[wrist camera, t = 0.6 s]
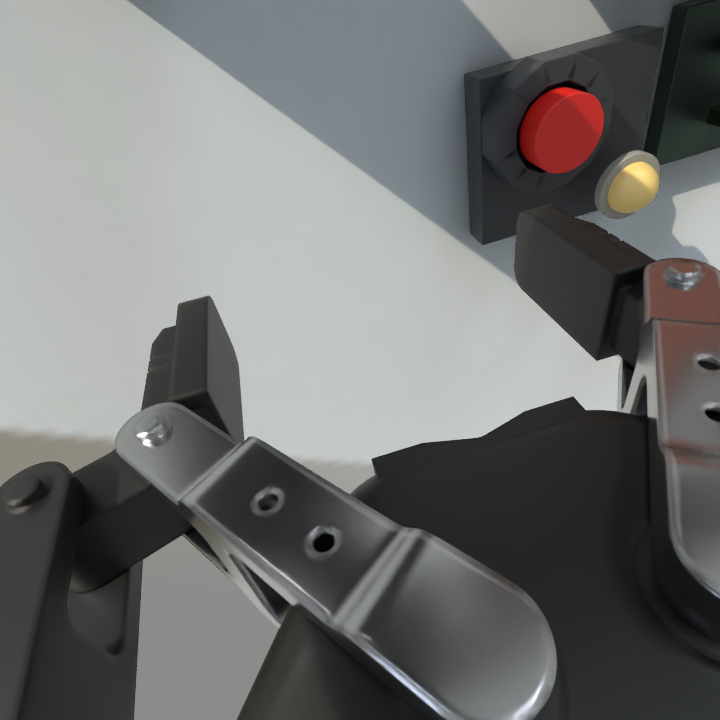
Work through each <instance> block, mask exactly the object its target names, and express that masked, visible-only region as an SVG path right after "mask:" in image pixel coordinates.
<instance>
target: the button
mask: <svg viewBox="0 0 720 720" xmlns="http://www.w3.org/2000/svg"><path fill="white" fill-rule="evenodd" d="M603 126H604V113H603V108H602V106H601V104H600V102H599V101H598V99H597V98H596V97H595V96H593V95H591V94H589V93H586V92H583V91H579V90H575V89H572V88H568V87H558V88H554V89H551V90H549V91H547V92H545V93H544V94H542V95H541V96H540V97H539V98H538V99H536V101H535V102H534V103H533V104H532V105H531V106H530V108H529V109H528V111H527V112H526V114H525V116H524V118H523V121H522V124H521V127H520V132H519V145H520V149H521V152H522V154H523V156H524V157H525V158H526V159H527V160H528V161H529V162H530V163H532V164H534V165H536V166H538V167H539V168H541V169H543V170H545V171H547V172H549V173H554V174H559V173H565V172H568V171H571V170H573V169H575V168H576V167H578V166H579V165H580V164H582V163H583V162H584V161H585V160H586V159H587V158H588V157H589V156H590V155H591V153H592V152H593V151H594V149H595V147H596V146H597V144H598V142H599V140H600V137H601V134H602V131H603Z"/></svg>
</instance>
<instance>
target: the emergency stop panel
mask: <svg viewBox="0 0 720 720" xmlns="http://www.w3.org/2000/svg"><path fill="white" fill-rule="evenodd" d="M663 31H664V28H661V27H650V26H636V27H632V28H629V29H625V30H622V31H618V32H614V33H611V34H607V35H604V36H600V37H596V38H593V39H589V40H586V41H582V42H578V43H575V44H571V45H568V46H564V47H560V48H557V49H553V50H549V51H546V52H542V53H539V54H535V55H531V56H528V57H524V58H521V59H517V60H514V61H510V62H506V63H503V64H499V65H496V66H492V67H488V68H485V69H481V70H477V71H474V72H470V73H467V74H465V75H464V77H465V103H466V129H467V155H468V181H469V207H470V233H471V234H472V235H473V236H474V237H475V238H476V239H477V240H478V241H479V242H480V243H481V244H482V245H485V244H488V243H491V242H495V241H498V240H501V239H505V238H508V237H511V236H514V235H516V229H517V219H518V216H519V215H520V213H521V212H523V211H527V210H531V209H534V208H538V207H542V206H545V205H550V204H551V205H554V206H556V207H557V208H559V209H560V210H562V211H564V212H565V213H567V214H568V215H570V216H572V217H573V218H574V217H577V216H580V215H584V214H587V213H590V212H593V211H597V210H598V209H597V207H596V205H595V198H594V197H595V190H596V186H597V183H598V181H599V179H600V177H601V175H602V174H603V172H604V171H605V170H606V168H607V167H608V166H609V165H610V164H611V163H612V162H613V161H614V160H616V159H617V158H618V157H620V156H621V155H623V154H625V153H628V152H631V151H637V150H639V151H640V150H641V144H642V139H643V134H644V129H645V124H646V119H647V114H648V109H649V103H650V98H651V93H652V88H653V83H654V78H655V73H656V67H657V62H658V57H659V52H660V47H661V42H662V37H663ZM558 87H568V88H572V89H575V90H579V91H583V92H586V93H589V94H591V95H593V96H595V97H596V98H597V99H598V101H599V102H600V104H601V106H602V108H603V113H604V126H603V131H602V134H601V137H600V140H599V142H598V144H597V146H596V147H595V149H594V151H593V152H592V153H591V155H590V156H589V157H588V158H587V159H586V160H585V161H584V162H583V163H582V164H580V165H579V166H578V167H576V168H575V169H573V170H571V171H568V172H565V173H559V174H554V173H549V172H547V171H545V170H543V169H541V168H539V167H538V166H536V165H534V164H532V163H530V162H529V161H528V160H527V159H526V158H525V157H524V156H523V154H522V152H521V149H520V145H519V132H520V127H521V124H522V121H523V118H524V116H525V114H526V112H527V111H528V109H529V108H530V106H531V105H532V104H533V103H534V102H535V101H536V99H538V98H539V97H540V96H541V95H542V94H544V93H545V92H547V91H549V90H551V89H554V88H558Z"/></svg>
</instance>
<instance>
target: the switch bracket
mask: <svg viewBox="0 0 720 720" xmlns="http://www.w3.org/2000/svg"><path fill="white" fill-rule="evenodd" d="M719 147H720V0H694V1H691V2H687V3H683V4H680V5H676V6H674V7H673V11H672V16H671V21H670V26H669V31H668V36H667V41H666V46H665V51H664V56H663V61H662V66H661V71H660V76H659V81H658V85H657V90H656V95H655V100H654V105H653V110H652V115H651V120H650V125H649V130H648V135H647V140H646V145H645V150H644V151H645V152H647V153H650V154H652V155H654V156H655V157H656V158H657V160H658V162H659V164H660V165H662V164H666V163H669V162H672V161H676V160H679V159H682V158H686V157H689V156H692V155H696V154H699V153H702V152H706V151H709V150H712V149H716V148H719Z"/></svg>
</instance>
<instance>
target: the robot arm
mask: <svg viewBox="0 0 720 720" xmlns="http://www.w3.org/2000/svg"><path fill="white" fill-rule="evenodd" d="M514 270H515V276H516V280H517V282H518V284H519V286H520V288H521V289H522V290H523V291H524V292H525V293H526V294H527V295H528V296H529V297H530V298H531V299H533V300H534V301H535V302H536V303H537V304H538V305H539V306H540V307H541V308H542V309H543V310H544V311H545V312H546V313H547V314H548V315H549V316H550V317H551V318H552V319H553V320H555V321H556V322H557V323H558V324H559V325H560V326H561V327H562V328H563V329H564V330H565V331H566V332H567V333H568V334H569V335H570V336H571V337H572V338H573V339H574V340H575V341H576V342H578V343H579V344H580V345H581V346H582V347H583V348H584V349H585V350H586V351H587V352H588V353H589V354H590V355H591V356H592V357H593V358H594V359H595V360H596V361H598V360H601V359H604V358H608V357H611V356H614V355H617V354H619V355H620V356H621V357H622V358H621V362H620V365H619V372H618V402H617V411H607V410H587V411H586V410H585V409H584V408H583V407H582V406H581V405H580V404H579V403H578V401H577V400H576V399H575V398H574V397H570V398H567V399H563V400H560V401H557V402H554V403H550V404H547V405H544V406H541V407H537V408H534V409H531V410H528V411H525V412H523V413H521V414H520V415H518V416H516V417H515V418H513V419H511V420H510V421H508V422H506V423H505V424H503V425H501V426H500V427H498V428H496V429H495V430H493V431H491V432H489V433H488V434H486V435H484V436H482V437H479V438H472V439H461V440H450V441H440V442H429V443H421V444H418V445H415V446H411V447H408V448H405V449H402V450H399V451H395V452H392V453H389V454H386V455H382V456H379V457H376V458H373V459H372V463H373V467H374V471H375V475H374V476H373V477H371V478H370V479H368V480H366V481H365V482H364V483H363V484H361V485H360V486H358V487H357V488H356V489H355V490H354V491H353V492H352V493H351V494H348V493H346V492H345V491H343V490H341V489H340V488H338V487H336V486H335V485H333V484H332V483H330V482H329V481H327V480H325V479H323V478H322V477H320V476H319V475H317V474H315V473H314V472H312V471H311V470H309V469H307V468H306V467H304V466H303V465H301V464H299V463H298V462H296V461H294V460H293V459H291V458H290V457H288V456H286V455H285V454H283V453H281V452H280V451H278V450H277V449H275V448H273V447H272V446H270V445H268V444H267V443H265V442H264V441H262V440H260V439H258V438H256V437H248V438H247V439H246V440H245V441H244V431H243V418H242V404H241V391H240V377H239V366H238V361H237V357H236V354H235V351H234V348H233V345H232V343H231V341H230V338H229V336H228V334H227V332H226V329H225V327H224V325H223V322H222V320H221V318H220V315H219V313H218V311H217V308H216V306H215V304H214V302H213V300H212V298H211V297H210V296H205V297H202V298H198V299H194V300H190V301H187V302H183V303H179V304H178V310H177V319H176V326H172V327H169V328H165V329H163V330H162V331H161V333H160V334H159V335H158V337H157V338H156V340H155V341H154V342H153V344H152V349H151V355H150V360H151V361H149V367H148V371H149V373H147V379H146V385H145V390H144V396H143V402H142V408H141V411H140V412H138V413H137V414H135V415H134V416H133V417H131V418H130V419H129V420H128V421H127V422H126V423H125V424H124V425H123V426H122V428H121V429H120V431H119V432H118V434H117V437H116V439H115V450H113V451H112V452H110V453H109V454H107V455H105V456H104V457H102V458H100V459H98V460H96V461H94V462H92V463H90V464H89V465H87V466H85V467H83V468H81V469H79V470H77V471H75V472H74V473H72V472H71V471H70V470H69V469H68V468H67V467H66V466H65V465H64V464H62V463H59V462H44V463H39V464H36V465H34V466H31V467H28V468H27V469H24V470H23V471H21V472H19V473H17V474H16V475H15V476H13V477H12V478H10V479H9V480H8V481H6V482H5V483H4V484H3V485H2V486H1V487H0V720H134V706H135V689H136V671H137V654H138V635H139V617H140V600H141V583H142V582H141V581H142V564H143V559H144V558H146V557H148V556H149V555H151V554H153V553H154V552H156V551H157V550H159V549H160V548H162V547H164V546H165V545H167V544H168V543H170V542H171V541H173V540H175V539H176V538H178V537H180V536H181V535H183V536H184V537H185V538H186V539H187V540H188V541H189V542H190V543H191V544H192V545H194V547H195V548H197V549H198V550H199V551H200V552H201V553H202V554H203V555H204V556H205V557H206V558H208V559H209V560H210V561H211V562H212V563H213V564H214V565H215V566H216V567H217V568H218V569H219V570H220V571H222V572H223V573H224V574H225V575H226V576H227V577H228V578H229V579H230V580H231V581H232V582H233V583H235V584H236V585H237V586H238V587H239V588H240V590H241V591H242V592H243V593H244V594H245V595H246V596H247V597H248V598H249V599H250V601H251V602H252V603H253V604H254V605H255V606H256V607H257V608H258V609H259V610H260V611H261V612H262V613H263V614H264V615H265V616H266V617H267V618H268V619H269V620H270V621H271V622H272V623H273V624H274V625H276V626H277V627H278V628H279V630H278V632H277V635H276V636H275V639H274V641H273V643H272V645H271V647H270V649H269V652H268V654H267V656H266V658H265V660H264V662H263V664H262V667H261V669H260V671H259V673H258V675H257V677H256V679H255V682H254V684H253V686H252V688H251V690H250V692H249V694H248V697H247V699H246V701H245V703H244V705H243V707H242V709H241V712H240V714H239V716H238V718H237V720H720V271H719V270H718V269H716V268H715V267H713V266H711V265H709V264H707V263H704V262H701V261H697V260H692V259H685V258H668V259H661V260H658V261H655V260H654V259H652V258H650V257H649V256H647V255H645V254H644V253H642V252H640V251H639V250H637V249H635V248H634V247H632V246H630V245H629V244H627V243H625V242H624V241H620V240H619V238H617V237H616V236H614V235H612V234H608V232H607V231H606V230H604V229H602V228H601V227H599V226H597V225H596V224H594V223H591V222H587V221H584V220H580V219H577V218H573V217H572V216H570V215H568V214H567V213H565V212H564V211H562V210H560V209H559V208H557V207H556V206H554V205H551V204H550V205H545V206H542V207H538V208H534V209H531V210H527V211H523V212H521V213H520V215H519V216H518V219H517V229H516V246H515V264H514Z"/></svg>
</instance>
